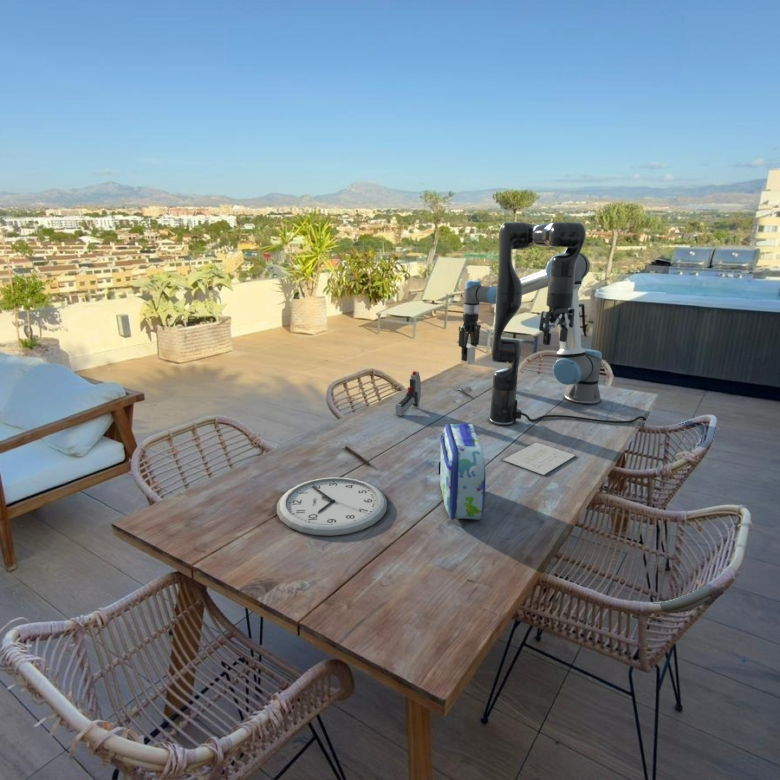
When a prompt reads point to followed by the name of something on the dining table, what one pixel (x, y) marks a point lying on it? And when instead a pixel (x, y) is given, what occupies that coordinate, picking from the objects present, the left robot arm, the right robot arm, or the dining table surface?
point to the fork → (460, 389)
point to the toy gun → (410, 395)
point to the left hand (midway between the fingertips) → (554, 343)
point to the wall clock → (331, 506)
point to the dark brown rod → (357, 455)
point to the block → (469, 355)
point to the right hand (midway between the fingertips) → (467, 359)
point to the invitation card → (539, 458)
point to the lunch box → (462, 472)
